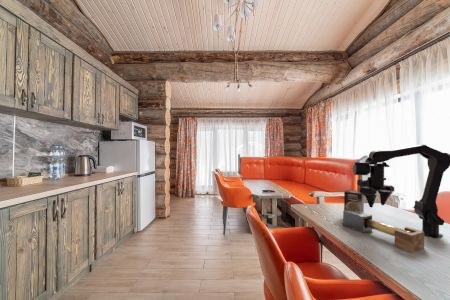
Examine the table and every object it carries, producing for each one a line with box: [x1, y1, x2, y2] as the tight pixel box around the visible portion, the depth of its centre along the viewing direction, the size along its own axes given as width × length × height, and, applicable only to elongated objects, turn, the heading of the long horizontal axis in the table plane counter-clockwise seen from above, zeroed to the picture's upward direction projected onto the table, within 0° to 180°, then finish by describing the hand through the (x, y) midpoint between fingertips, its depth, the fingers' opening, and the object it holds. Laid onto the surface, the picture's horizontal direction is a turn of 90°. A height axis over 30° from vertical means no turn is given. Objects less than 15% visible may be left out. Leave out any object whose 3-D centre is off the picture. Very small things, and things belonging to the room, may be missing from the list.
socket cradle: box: [394, 226, 425, 254], centre depth 87 cm, size 9×6×7 cm, turn 113°
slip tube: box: [365, 218, 412, 238], centre depth 96 cm, size 4×20×4 cm, turn 23°
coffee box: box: [343, 189, 365, 213], centre depth 121 cm, size 9×6×16 cm
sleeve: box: [342, 209, 373, 234], centre depth 108 cm, size 7×11×8 cm, turn 23°
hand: (376, 206), depth 105 cm, fingers open, 9 cm apart
